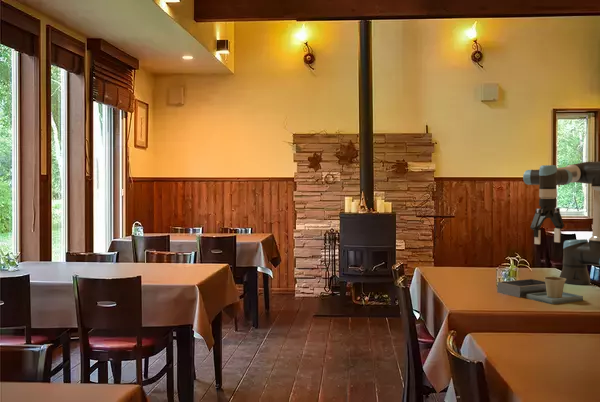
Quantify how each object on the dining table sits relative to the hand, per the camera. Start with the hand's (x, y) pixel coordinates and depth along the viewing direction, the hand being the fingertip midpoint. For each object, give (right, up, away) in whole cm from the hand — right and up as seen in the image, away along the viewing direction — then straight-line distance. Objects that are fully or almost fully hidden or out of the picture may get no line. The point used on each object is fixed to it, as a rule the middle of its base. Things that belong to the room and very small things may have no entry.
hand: (547, 243), depth 268 cm
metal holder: (-7, -25, +7) cm, 27 cm away
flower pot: (0, -24, -8) cm, 26 cm away
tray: (0, -25, -8) cm, 26 cm away
